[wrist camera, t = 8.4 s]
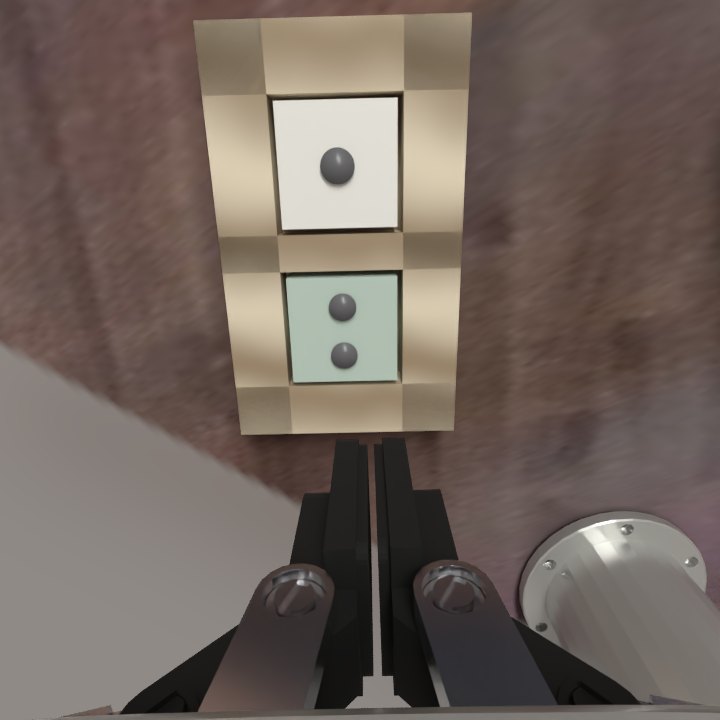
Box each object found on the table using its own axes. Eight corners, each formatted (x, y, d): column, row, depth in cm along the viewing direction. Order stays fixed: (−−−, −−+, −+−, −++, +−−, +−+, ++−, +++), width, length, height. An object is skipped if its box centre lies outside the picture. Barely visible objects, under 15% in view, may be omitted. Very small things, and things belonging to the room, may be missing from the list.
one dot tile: (394, 223, 26) (397, 227, 24) (288, 226, 26) (281, 229, 24) (394, 105, 24) (398, 96, 22) (280, 108, 24) (272, 99, 22)
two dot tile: (394, 366, 28) (397, 381, 26) (298, 368, 28) (292, 383, 26) (394, 269, 27) (397, 277, 24) (291, 271, 27) (285, 279, 24)
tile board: (444, 407, 30) (453, 430, 28) (252, 411, 30) (241, 434, 28) (458, 33, 24) (472, 12, 21) (212, 40, 24) (193, 20, 21)
